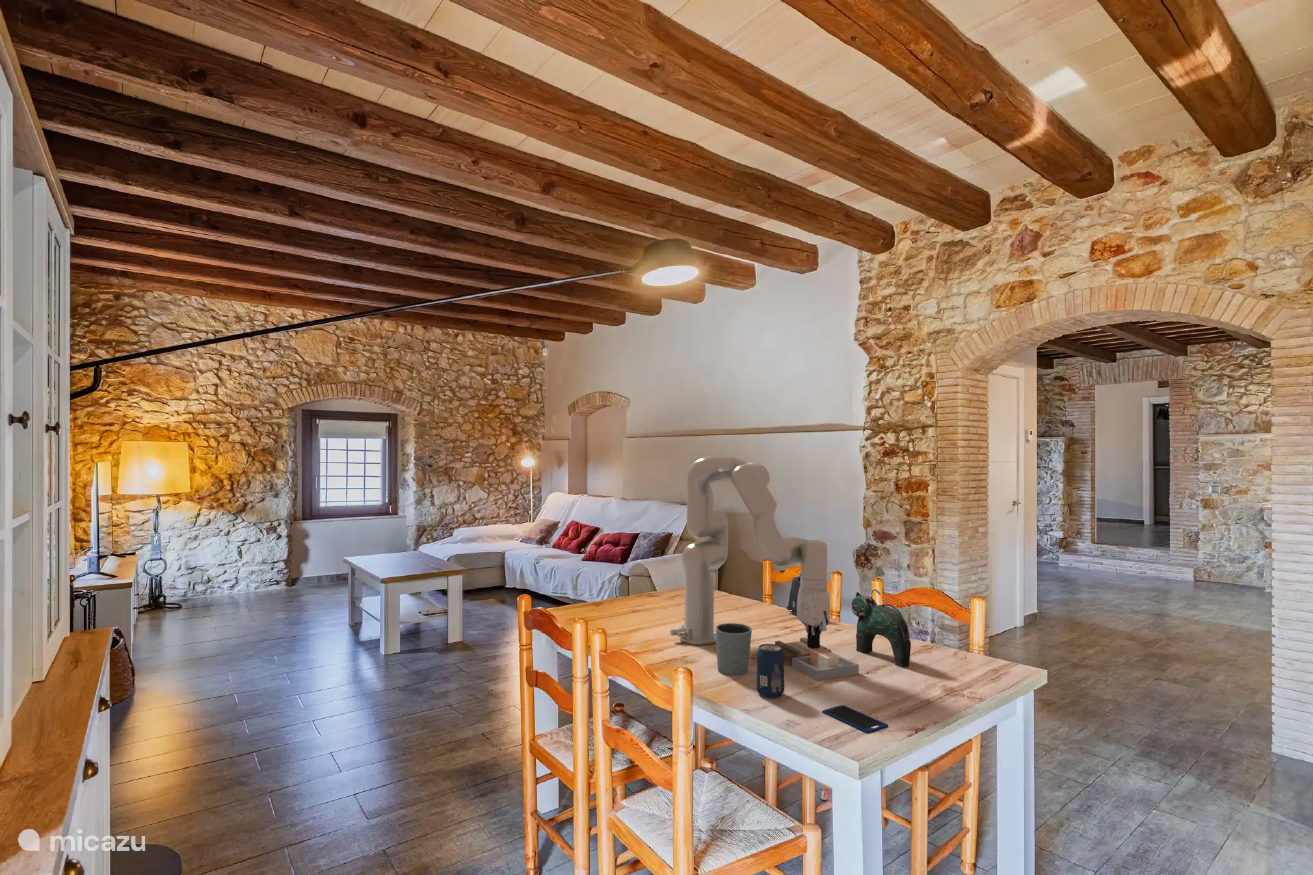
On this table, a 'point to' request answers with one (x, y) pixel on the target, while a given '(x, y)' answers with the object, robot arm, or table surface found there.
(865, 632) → the ceramic cat
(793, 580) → the gun
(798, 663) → the tray
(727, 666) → the green cup
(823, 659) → the cream block
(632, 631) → the table surface
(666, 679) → the table surface
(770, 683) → the soda can
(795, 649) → the slot board
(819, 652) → the terracotta block
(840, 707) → the cell phone
